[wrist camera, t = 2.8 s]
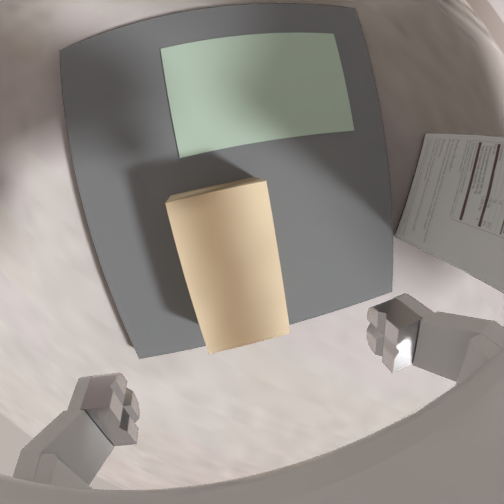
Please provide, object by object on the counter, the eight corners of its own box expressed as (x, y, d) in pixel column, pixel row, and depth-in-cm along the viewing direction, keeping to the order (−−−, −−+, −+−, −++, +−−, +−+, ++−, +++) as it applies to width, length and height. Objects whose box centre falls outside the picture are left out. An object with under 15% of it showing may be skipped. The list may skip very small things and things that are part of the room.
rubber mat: (348, 13, 15) (355, 8, 14) (385, 286, 23) (392, 292, 22) (65, 54, 13) (59, 50, 12) (141, 350, 20) (139, 359, 19)
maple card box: (254, 177, 17) (266, 180, 14) (277, 309, 20) (290, 333, 17) (170, 195, 16) (165, 203, 14) (206, 327, 19) (208, 353, 17)
